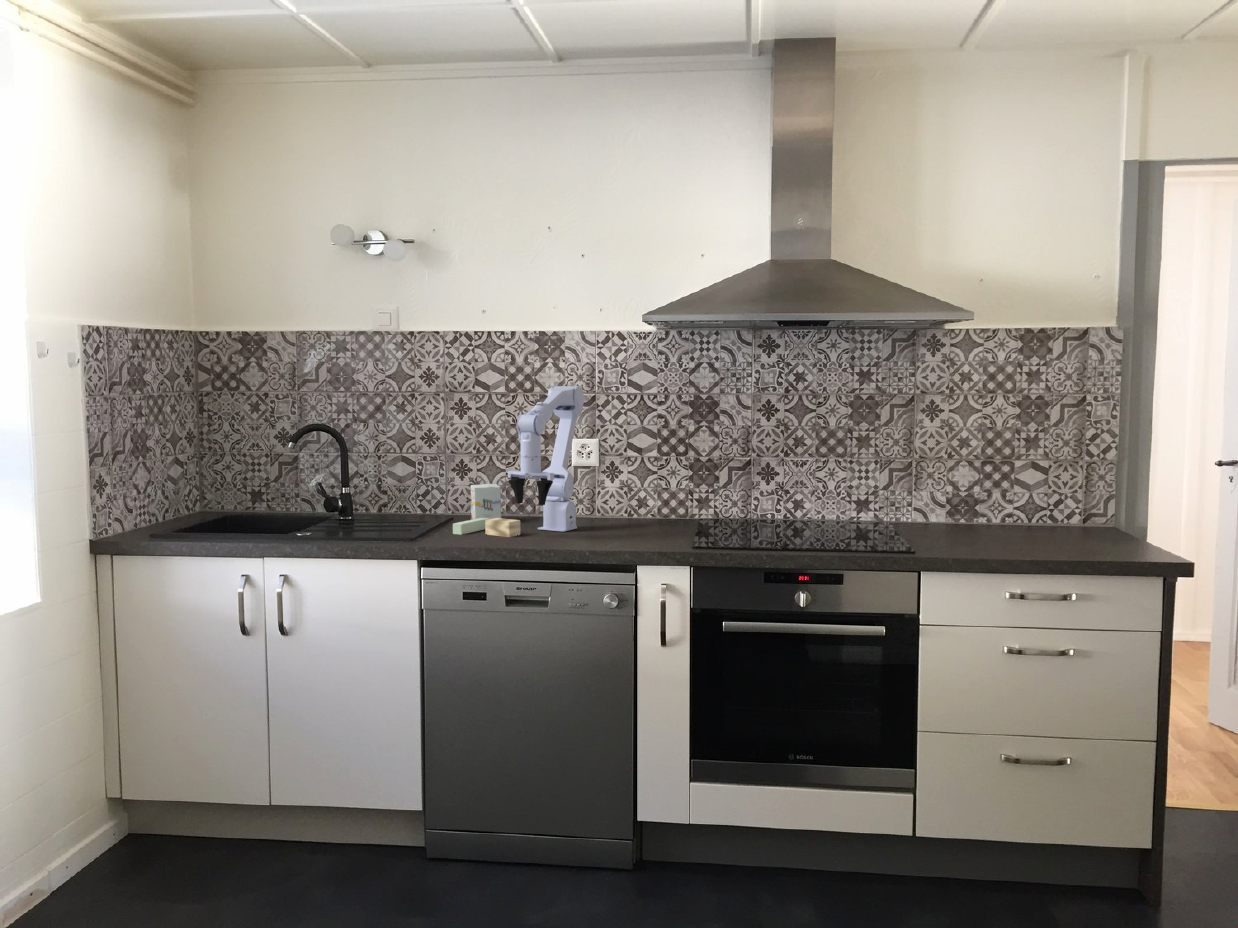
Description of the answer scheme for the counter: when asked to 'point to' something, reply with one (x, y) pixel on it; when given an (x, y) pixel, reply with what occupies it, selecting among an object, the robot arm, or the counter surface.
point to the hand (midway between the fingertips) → (530, 504)
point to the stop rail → (469, 526)
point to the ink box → (485, 501)
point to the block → (502, 527)
